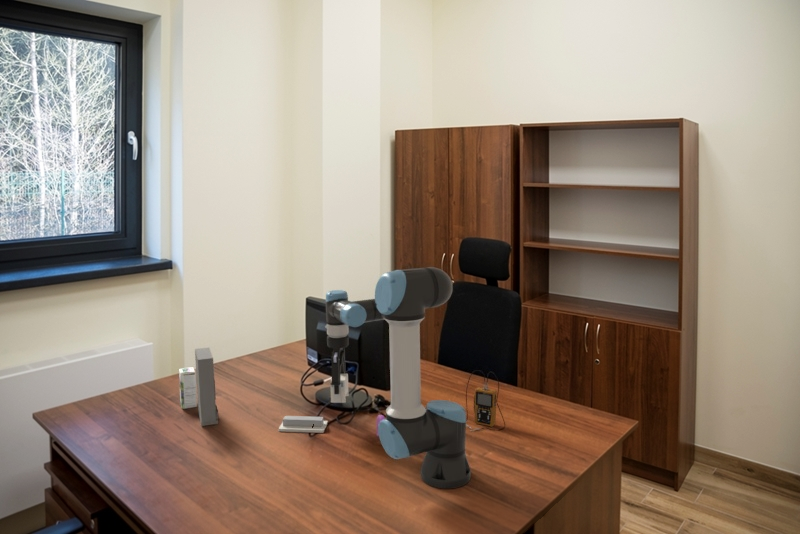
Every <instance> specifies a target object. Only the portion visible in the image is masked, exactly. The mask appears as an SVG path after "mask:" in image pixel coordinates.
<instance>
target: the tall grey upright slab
mask: <svg viewBox="0 0 800 534" xmlns="http://www.w3.org/2000/svg"><path fill="white" fill-rule="evenodd" d="M194 359H195V374H196V394H197V407H198V408H197V412H198V416H199V417H198V418H199V423H200V426H201V427H205V426H213V425H218V424H219V409H218V407H217V404H216V403H217V402H216V400H217V398H216V380H215V368H214V357H213V354H212V351H211V349H210V347H203V348H201V347H200V348H195V349H194Z"/></svg>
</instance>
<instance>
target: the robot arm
mask: <svg viewBox="0 0 800 534" xmlns="http://www.w3.org/2000/svg"><path fill="white" fill-rule="evenodd" d="M453 287H454V286H453V282H452V279H451V277H450V276H449V274H447V272H445V271H444V270H442V269H441V268H437V267H433V266H428V267H427V266H425V267H421V268H419V267H418V268H408V269H407V268H406V269H395V270H391V271H387V272H385V273H383V274H381V276H380V277H379V278H378V280H377V282H376V284H375V289H374V298H372V299H371V298H370V299H364V300H363V299H362V300H356V301H355V300H353V301H351V300H349V295H348V293H347V291H346V290H342V289H336V290H335V289H334V290H328V291H327V292H326V294H325V316H326V317H325V319H326V325H324V328H325V329H326V335H327V336H326V344H327V345H326V346H327V347H328V348H329V349H333V350H332V351H331V358H330V359H331V378H332V383H330V382H329V384H331V385H333V402H332V403H333V404H338V403H340V404H342V403H341V384H340V375H341V374H348V373H347V372H346V351H345V350H346V349H345V348H347V347H349V345H350V343H349V342H350V341H349V327H352V328H357V327H360V326H362V325H363V324H364V323H370V322H375V321H376V322H377V321H384V320H385V321H386V323H388V327H389V329H388V333H389V337H388V338H389V339H388V340H389V370H390V371H389V372H390V373H389V374H390V375H389V376H390V381H389V382H390V405H389V406H388V407H387V408H386V409H385V418H384V419H383V420H381V421H380V423H379V425H378V433H379V436H378V437H379V441H380V444H381V445H382V448H383V450H384V451H385V453H386V454H387V455H388V457H391V458H392V459H394V460H399V459H400V460H401V459H407V458H410V457H413V456H416V455H420V454H425V455H424V458H423V461H422V463H421V467H420V479H421V480H422V481H423V482H424V483H425V484H426V485H429V486H431V487H433V488H436V489H437V488H438V489H444V490H445V489H446V490H447V489H456V488H460V487H463V486H465V485H467V484H468V483H469V482H470V480H471V467H470V464H469V461H468V460H469V459H468V457H467V454H466V435H467V434H466V433H467V429H466V428H467V426H466V424H467V421H466V420H467V411H466V409H465V407H463V406H462V405H461V404H459V403H457V402H454V401H453V400H452V401H450V400H447V399H445V400H444V399H432V400H429V401H428V402H427V403H426V406H424V405H423V404H422V399H421V398H422V397H421V396H422V395H421V394H422V393H421V391H422V390H421V389H422V388H421V385H422V383H421V335H420V334H421V332H420V331H421V329H420V328H421V326H420V324H421V323H422V321H423V320H425V318H426V311H425V310H427V309H431V308H438V307H440V306H442V305H444V304H445V303H447V301H448V300H450V298H451V296H452V294H453Z"/></svg>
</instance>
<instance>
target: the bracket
mask: <svg viewBox="0 0 800 534" xmlns="http://www.w3.org/2000/svg"><path fill="white" fill-rule="evenodd" d="M383 419H385V416H384V415H382V414H378V415H377V417H376V437H379V433H378V425H379V423H380V421H381V420H383Z"/></svg>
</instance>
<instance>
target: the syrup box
mask: <svg viewBox="0 0 800 534" xmlns="http://www.w3.org/2000/svg"><path fill="white" fill-rule="evenodd" d="M178 375H179V377H178V379H179V401H180V407H181V410H183V409H184V410H186V409H192V408H197V407H198V394H197V377H196V368H195V367H183V368H179V369H178Z"/></svg>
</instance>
